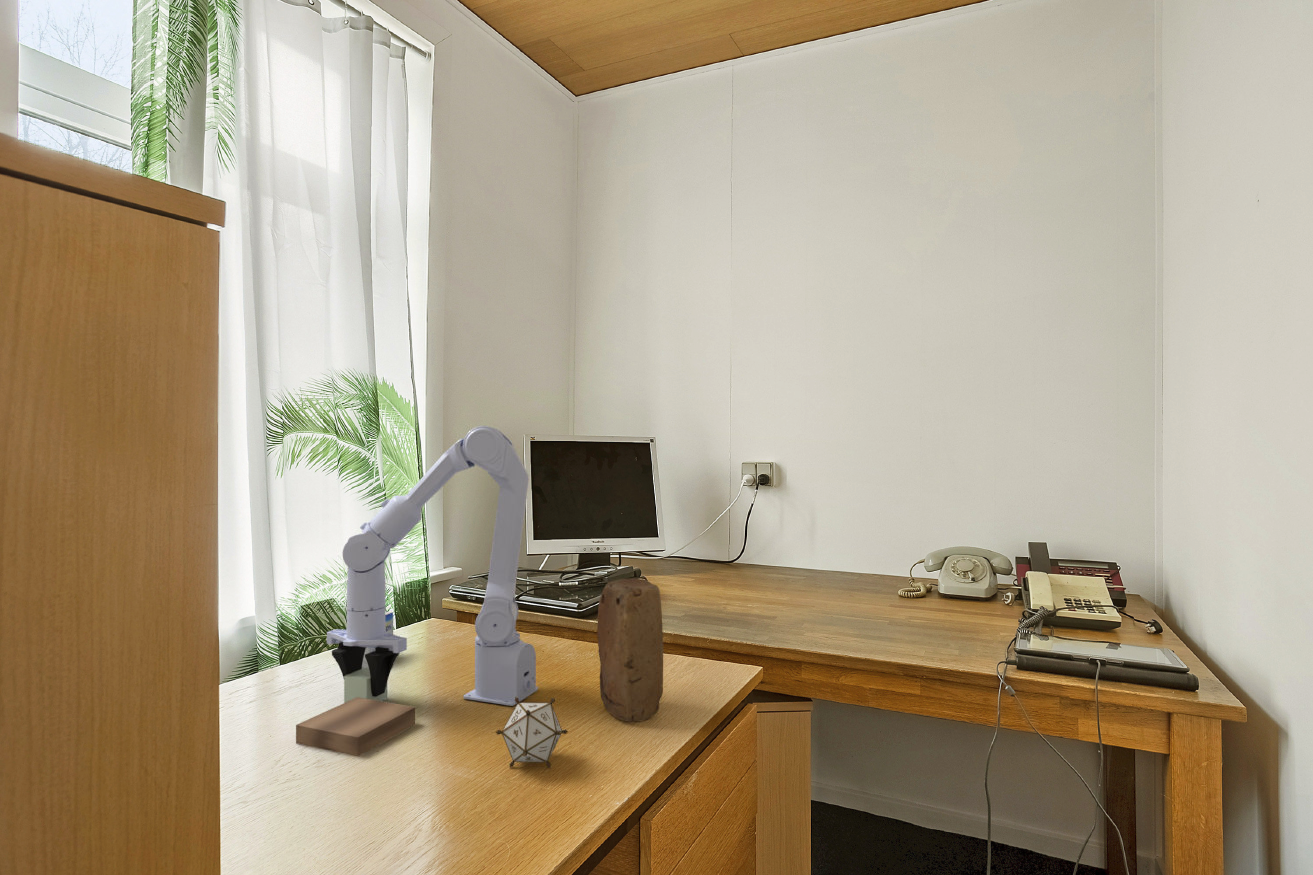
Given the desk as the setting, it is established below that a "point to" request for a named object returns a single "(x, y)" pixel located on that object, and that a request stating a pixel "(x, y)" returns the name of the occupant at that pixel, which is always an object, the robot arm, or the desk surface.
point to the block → (630, 648)
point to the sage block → (360, 686)
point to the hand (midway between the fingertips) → (365, 692)
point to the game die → (532, 732)
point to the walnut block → (355, 726)
